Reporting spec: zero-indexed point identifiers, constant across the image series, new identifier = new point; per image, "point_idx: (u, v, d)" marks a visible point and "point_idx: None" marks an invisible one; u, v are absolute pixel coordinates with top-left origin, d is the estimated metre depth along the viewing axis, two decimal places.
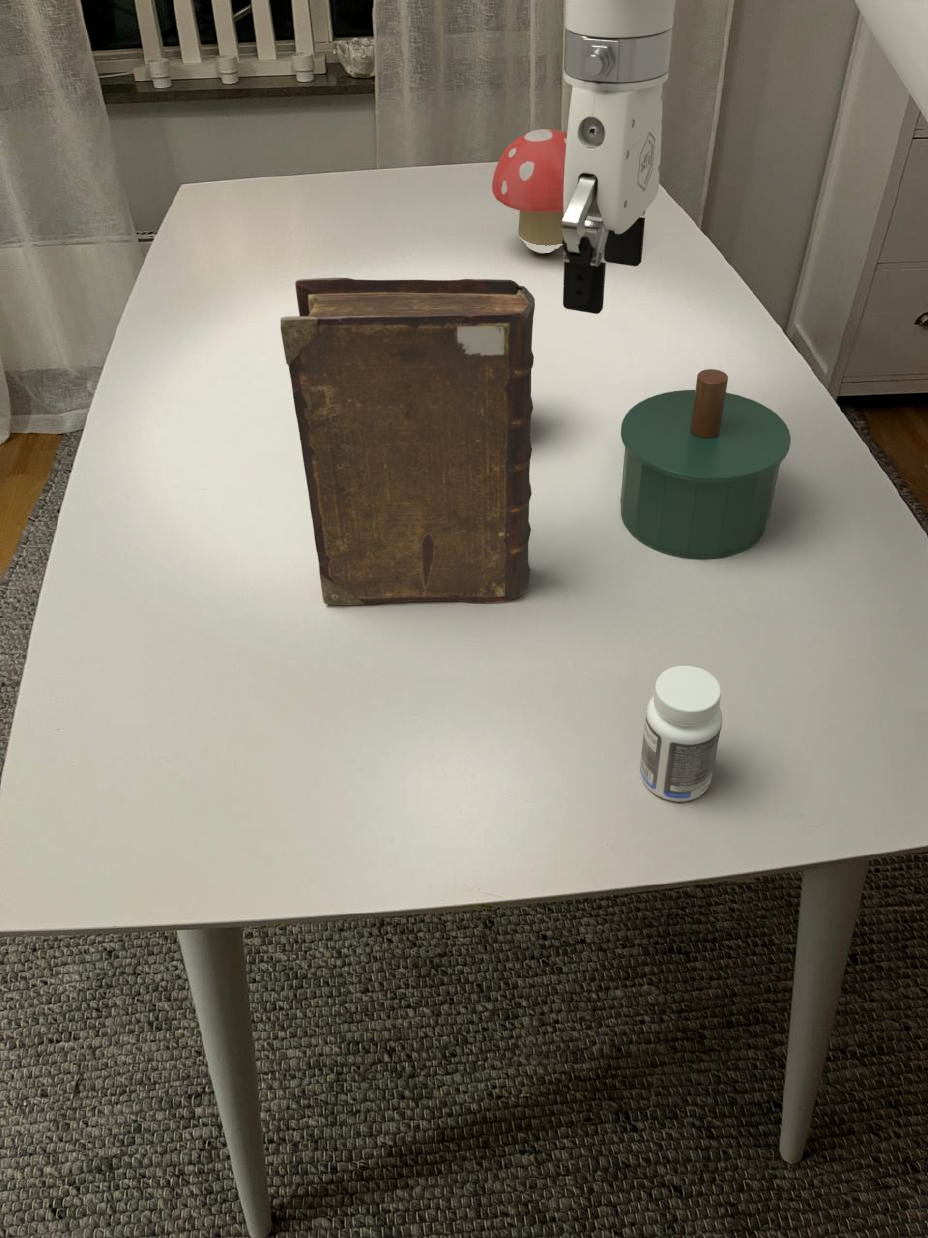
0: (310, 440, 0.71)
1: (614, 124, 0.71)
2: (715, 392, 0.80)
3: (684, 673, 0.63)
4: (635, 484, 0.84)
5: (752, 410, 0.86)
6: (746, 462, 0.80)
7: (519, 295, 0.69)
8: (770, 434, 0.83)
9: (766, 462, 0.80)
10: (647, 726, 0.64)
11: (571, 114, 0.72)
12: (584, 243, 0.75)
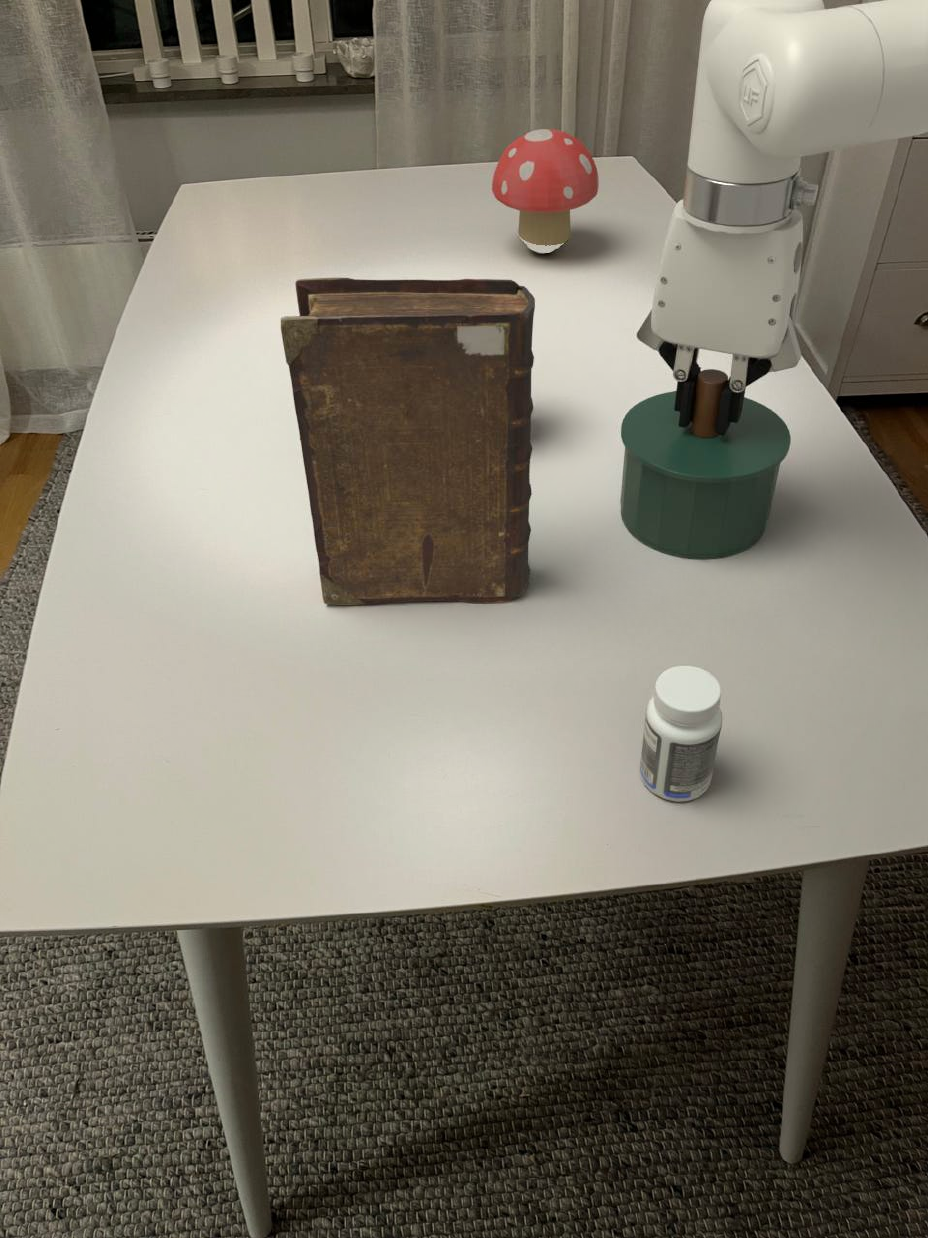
0: (310, 440, 0.71)
1: (802, 240, 0.73)
2: (715, 392, 0.80)
3: (684, 674, 0.63)
4: (635, 484, 0.84)
5: (752, 410, 0.86)
6: (746, 462, 0.80)
7: (519, 295, 0.69)
8: (770, 434, 0.83)
9: (766, 462, 0.80)
10: (647, 726, 0.64)
11: (787, 253, 0.70)
12: None
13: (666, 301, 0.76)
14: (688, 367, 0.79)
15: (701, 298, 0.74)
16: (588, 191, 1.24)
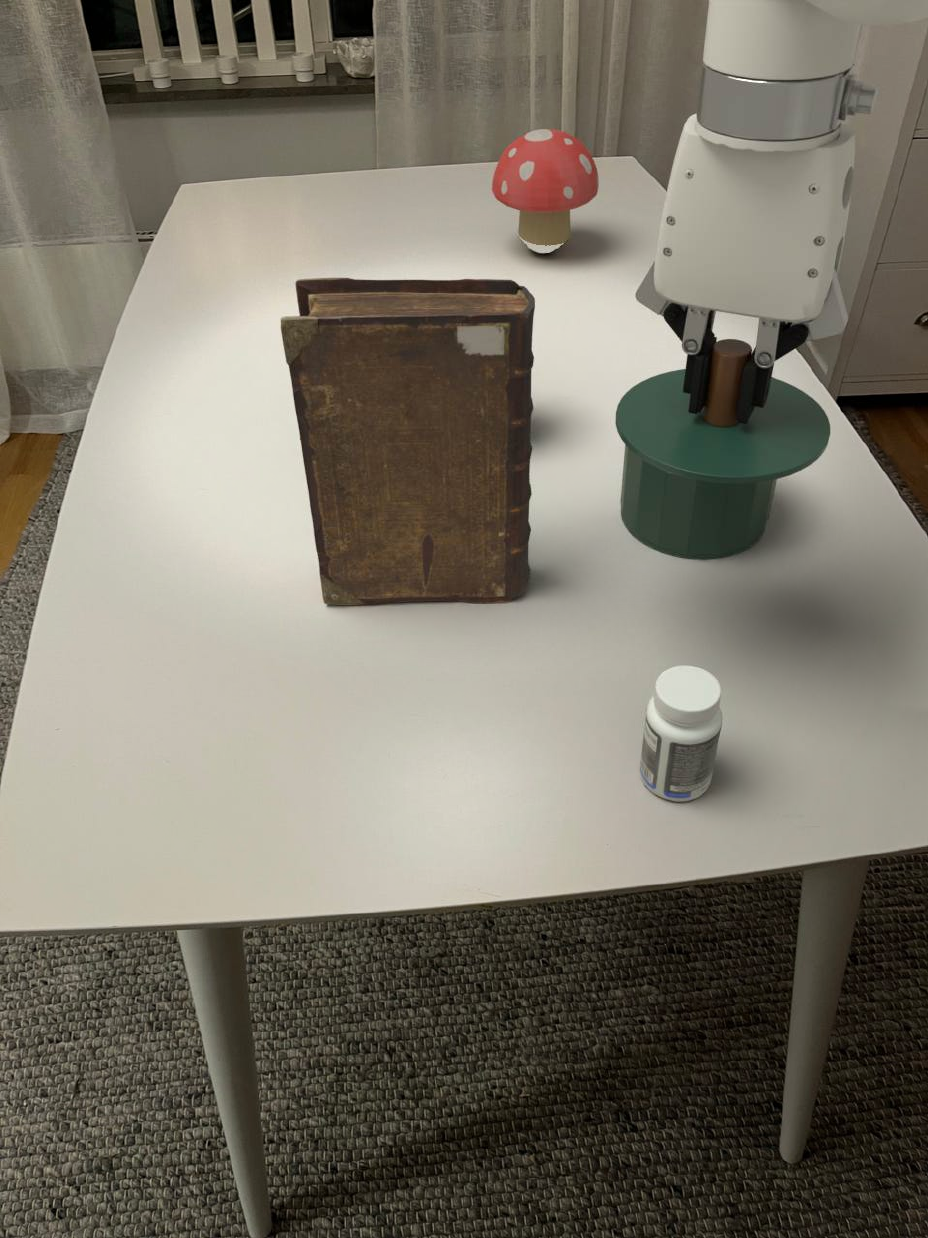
0: (310, 440, 0.71)
1: (853, 164, 0.55)
2: (735, 368, 0.63)
3: (684, 673, 0.63)
4: (635, 484, 0.84)
5: (780, 393, 0.68)
6: (775, 457, 0.63)
7: (519, 295, 0.69)
8: (805, 422, 0.66)
9: (801, 457, 0.63)
10: (647, 726, 0.64)
11: (836, 179, 0.53)
12: None
13: (673, 248, 0.59)
14: (701, 336, 0.62)
15: (719, 243, 0.57)
16: (588, 191, 1.24)
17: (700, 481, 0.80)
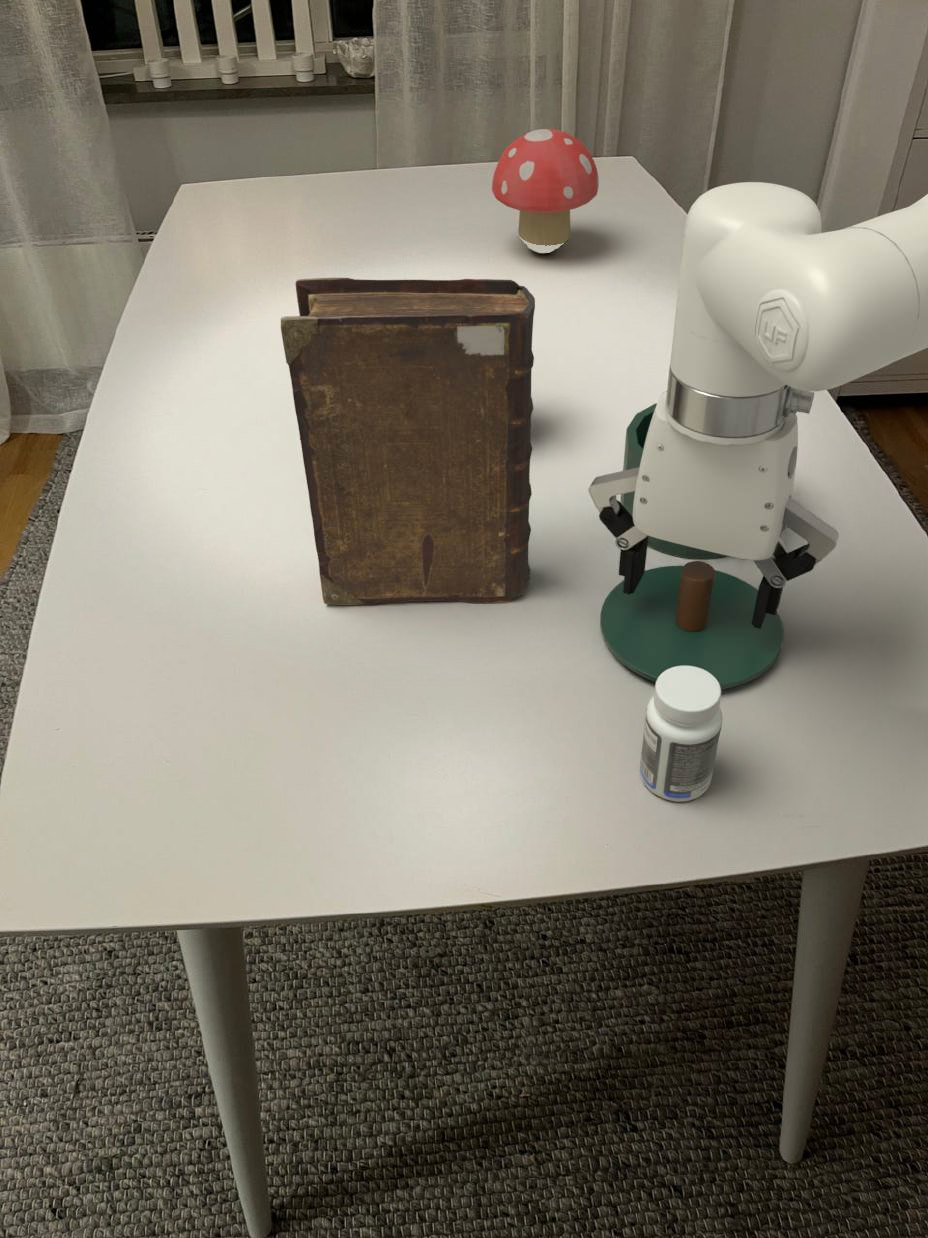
0: (310, 440, 0.71)
1: None
2: (701, 589, 0.74)
3: (684, 673, 0.63)
4: None
5: (742, 595, 0.80)
6: (735, 665, 0.74)
7: (519, 295, 0.69)
8: (762, 627, 0.77)
9: (756, 665, 0.74)
10: (647, 726, 0.64)
11: (781, 462, 0.64)
12: None
13: (648, 499, 0.69)
14: (631, 536, 0.73)
15: (686, 500, 0.68)
16: (588, 191, 1.24)
17: None
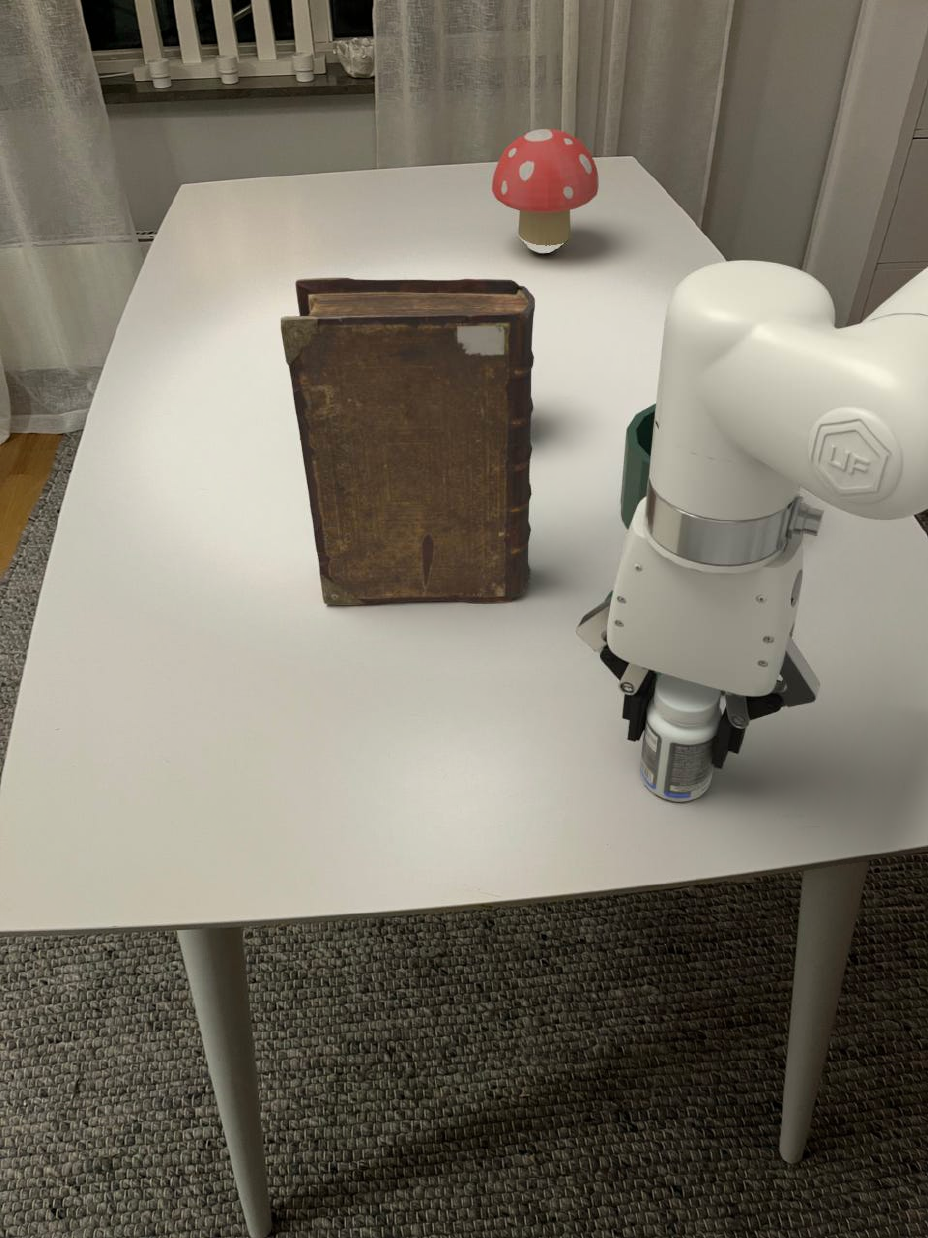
0: (310, 440, 0.71)
1: None
2: None
3: None
4: (635, 484, 0.84)
5: None
6: None
7: (519, 295, 0.69)
8: None
9: None
10: (647, 726, 0.64)
11: (783, 592, 0.53)
12: None
13: (625, 622, 0.58)
14: (637, 681, 0.62)
15: (670, 627, 0.57)
16: (588, 191, 1.24)
17: None
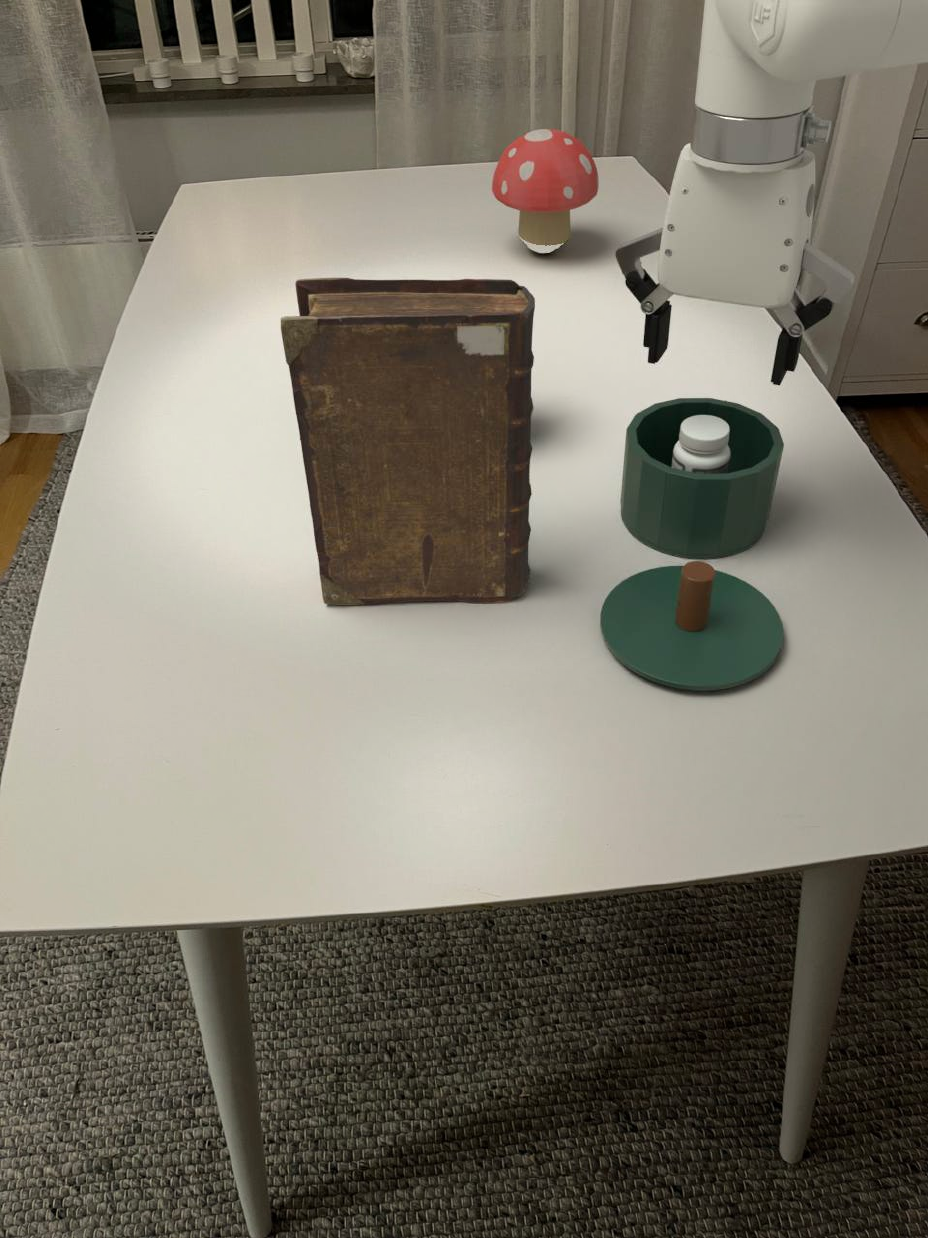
0: (310, 440, 0.71)
1: None
2: (701, 589, 0.74)
3: (702, 419, 0.84)
4: (635, 484, 0.84)
5: (742, 595, 0.80)
6: (735, 665, 0.74)
7: (519, 295, 0.69)
8: (762, 627, 0.77)
9: (756, 665, 0.74)
10: (674, 461, 0.85)
11: (800, 193, 0.68)
12: None
13: (673, 250, 0.73)
14: (656, 298, 0.77)
15: (710, 245, 0.72)
16: (588, 191, 1.24)
17: (700, 481, 0.80)
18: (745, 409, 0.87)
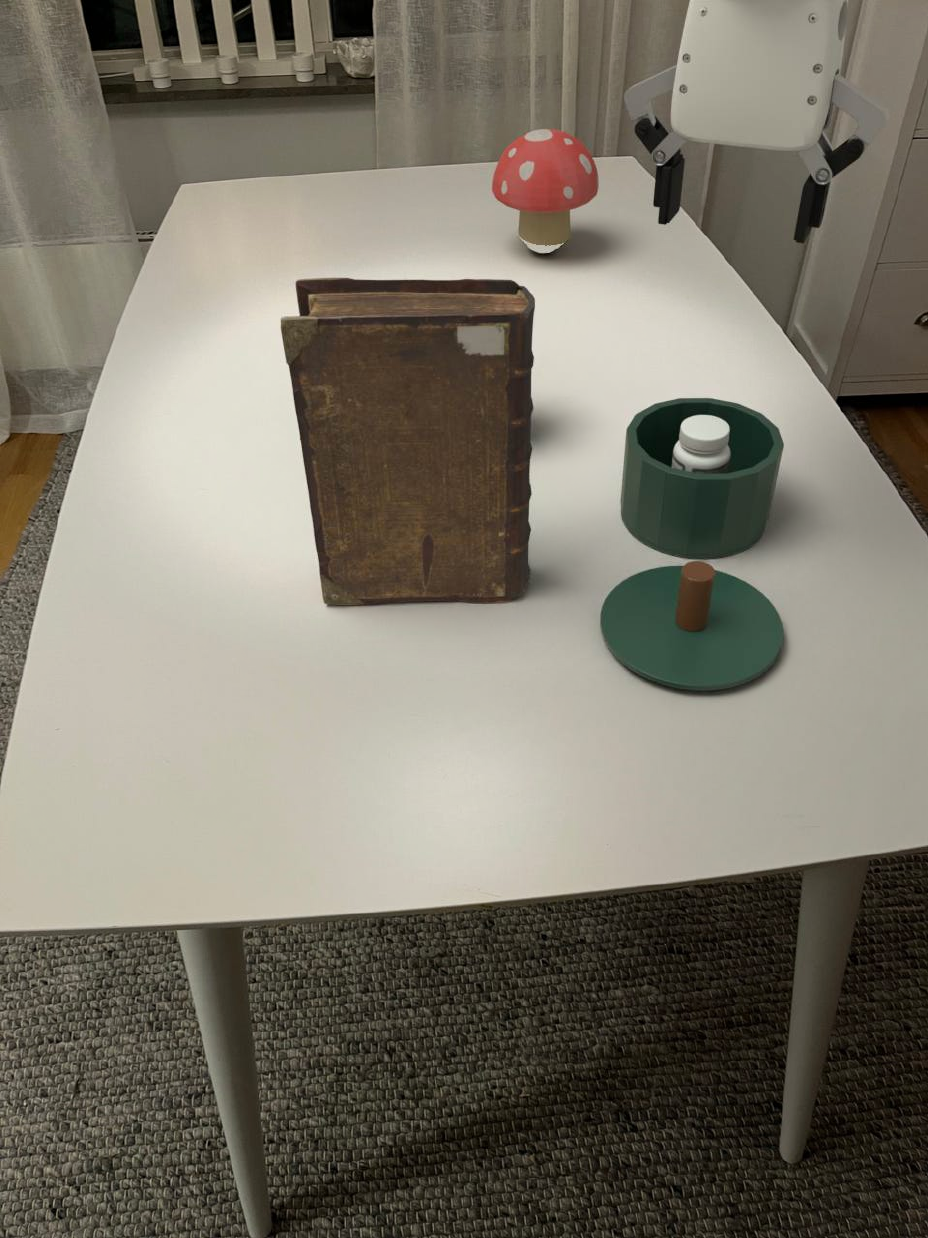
0: (310, 440, 0.71)
1: None
2: (701, 589, 0.74)
3: (702, 419, 0.84)
4: (635, 484, 0.84)
5: (742, 595, 0.80)
6: (735, 665, 0.74)
7: (519, 295, 0.69)
8: (762, 627, 0.77)
9: (756, 665, 0.74)
10: (674, 461, 0.85)
11: (832, 9, 0.61)
12: None
13: (689, 84, 0.66)
14: (668, 146, 0.70)
15: (729, 76, 0.65)
16: (588, 191, 1.24)
17: (700, 481, 0.80)
18: (745, 409, 0.87)
